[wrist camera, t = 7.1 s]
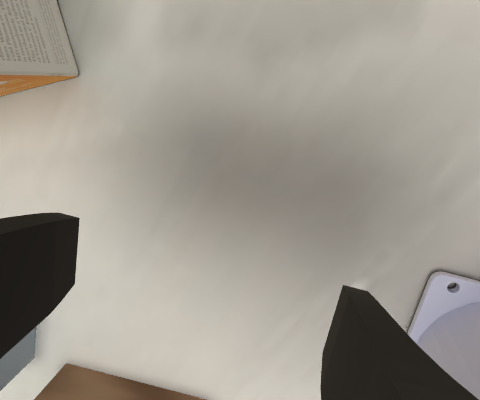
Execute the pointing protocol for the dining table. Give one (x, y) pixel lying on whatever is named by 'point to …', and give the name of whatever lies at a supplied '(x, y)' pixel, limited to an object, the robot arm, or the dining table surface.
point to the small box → (33, 45)
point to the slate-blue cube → (17, 358)
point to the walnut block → (102, 387)
